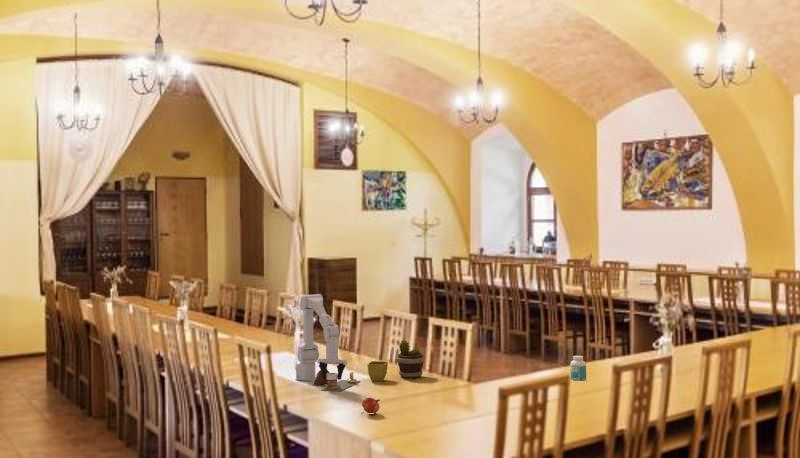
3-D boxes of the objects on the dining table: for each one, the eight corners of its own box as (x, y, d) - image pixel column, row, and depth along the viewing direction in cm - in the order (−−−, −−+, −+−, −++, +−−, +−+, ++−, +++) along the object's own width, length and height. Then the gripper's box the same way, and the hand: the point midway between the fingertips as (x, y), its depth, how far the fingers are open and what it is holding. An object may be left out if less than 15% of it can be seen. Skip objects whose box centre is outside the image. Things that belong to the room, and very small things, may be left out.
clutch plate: (324, 379, 380) (324, 374, 380) (329, 377, 385) (329, 372, 385) (335, 379, 378) (335, 375, 378) (340, 377, 383) (340, 373, 383)
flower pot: (384, 382, 394) (384, 364, 394) (367, 382, 396) (367, 364, 396) (388, 379, 403) (388, 361, 403) (371, 378, 405) (371, 361, 405)
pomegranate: (361, 422, 327) (379, 408, 324) (352, 406, 329) (370, 393, 326) (369, 419, 334) (387, 406, 331) (360, 404, 336) (378, 391, 333)
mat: (321, 390, 378) (321, 389, 378) (341, 380, 401) (341, 379, 401) (340, 391, 375) (340, 390, 375) (360, 381, 397) (360, 380, 397)
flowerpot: (429, 375, 411) (429, 336, 411) (417, 381, 397) (417, 340, 397) (404, 373, 418) (403, 335, 417) (391, 378, 404) (390, 339, 403)
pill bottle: (585, 382, 388) (585, 355, 388) (587, 385, 381) (587, 357, 381) (569, 382, 389) (569, 355, 389) (571, 385, 382) (571, 357, 382)
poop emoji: (317, 386, 387) (317, 367, 387) (311, 383, 394) (311, 364, 394) (336, 384, 392) (336, 365, 391) (330, 381, 399) (329, 363, 399)
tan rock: (322, 388, 379) (322, 377, 379) (328, 385, 386) (328, 374, 386) (336, 389, 377) (336, 378, 377) (342, 386, 384) (342, 375, 384)
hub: (345, 383, 392) (345, 373, 392) (349, 381, 396) (349, 371, 396) (354, 383, 391) (354, 373, 390) (357, 381, 395) (357, 371, 395)
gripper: (314, 351, 380) (314, 379, 380) (342, 352, 375) (342, 381, 375) (320, 349, 387) (321, 377, 387) (348, 350, 382) (348, 378, 382)
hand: (332, 379), depth 382 cm, fingers open, 7 cm apart
